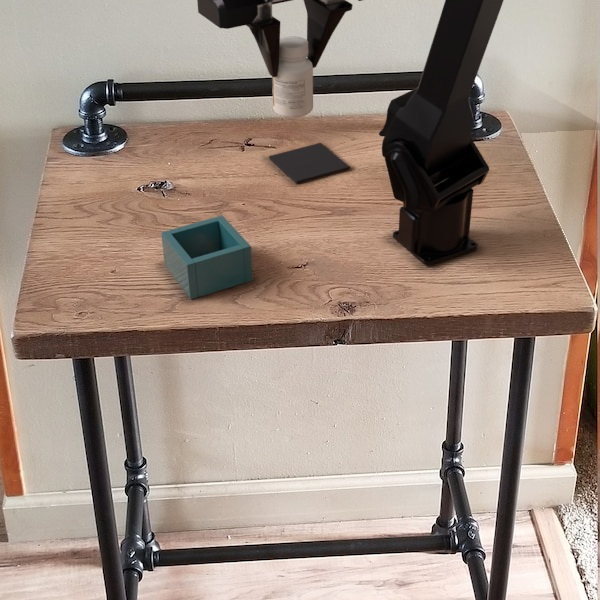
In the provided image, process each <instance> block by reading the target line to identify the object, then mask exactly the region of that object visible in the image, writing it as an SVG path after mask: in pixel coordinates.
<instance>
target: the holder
mask: <svg viewBox="0 0 600 600" xmlns="http://www.w3.org/2000/svg"><path fill="white" fill-rule="evenodd" d="M160 236H161V243H162V253H163V261H164V267H165V268H166V269H167V271H168V273H170V275H171V276H172V278H173V279H174V280H175V281H176V282H177V284H178V285H179V287H180V288H181V290H182V291H183V292H184V293H185V295H187V297H188V298H189V299H190V300H194V299H197V298H200V297H204V296H207V295H210V294H213V293H217V292H220V291H224V290H226V289H229V288H233V287H236V286H239V285H242V284H245V283H250V282H252V281H253V280H254V278H253V277H254V276H253V260H252V258H253V257H252V246H251V244H250V243H249V242H248V241H247V240H246V239H245V238H244V237H243V236H242V235H241V233H240V232H238V230H237V229H236V228H235V227H234V226H233V225H232V223H231V222H229V221H228V219H226V217H225V216H224V215H218V216H214V217H211V218H208V219H203V220H200V221H196V222H192V223H189V224H186V225H182V226H179V227H175V228H171V229H168V230H165V231H162V232H160Z"/></svg>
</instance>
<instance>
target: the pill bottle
mask: <svg viewBox="0 0 600 600" xmlns="http://www.w3.org/2000/svg"><path fill="white" fill-rule="evenodd" d="M308 52H309V50H308V41H307V38H304V37H301V36H284V37H280V50H279V68H278V74H277V77H272V76H271V83H272V84H271V85H272V86H271V88H272V109H273V111H274V113H275V114H276V115H278V116H280V117H283V118H291V119H293V118H302V117H305V116H307V115H309V114H310V113H312V111H313V110H314V68H313V65H312V62H311V61H310V60H309V59H308V58H307V56H308Z"/></svg>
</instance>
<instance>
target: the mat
mask: <svg viewBox="0 0 600 600" xmlns="http://www.w3.org/2000/svg"><path fill="white" fill-rule="evenodd" d="M268 160H270V162H272V163H273V164H274V165H275V166H276V167H277V168H278V169H280V170H281V172H283V173H284V174H285V175H286V177H288V178H289V179H291V181H292V182H294V183H295V184H296V185H299V184H302V183H305V182H310V181H313V180H317V179H321V178H324V177H329V176H331V175H335V174H339V173H343V172H346V171H349V170H350V169H351V166H349V164H347V163H346V162H345V161H343V160H342V159H341V158H340V157H338V155H336V154H335V153H334V152H333V151H332V150H330V149H329V148H328V147H326V146H325V145H324V144H322V142H318V143H315V144H310V145H307V146H303V147H298V148H295V149H292V150H288V151H284V152H283V151H282V152H280V153H276V154H272V155H269V156H268Z"/></svg>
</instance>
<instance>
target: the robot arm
mask: <svg viewBox="0 0 600 600" xmlns="http://www.w3.org/2000/svg"><path fill="white" fill-rule="evenodd" d="M292 1H293V0H197V1H196V2H197V13H198V14H199V15H201V16H202V17H204V18H205V19H206V20H208V21H210V22H211V23H212V24H213V25H215V26H217V27H218V29H225V30H228V29H229V30H230V29H235V28H239V27H243V26H246V27H247V28H249V31H250V32H251V35H253V38H254V39H255V43H256V44H257V47H258V49H259V52H260V54H261V56H262V60H263V62H264V64H265V67H266V69H267V71H268V74H269V76H271V78H272V77H277V74H278V68H279V50H280V38H281V20H280V19H278V18H276V17H275V16H273V5H276V4H282V3H286V2H287V3H288V2H292ZM357 1H358V2H361V1H363V0H357ZM303 3H304V7H305V11H306V40H307V41H308V50H309V52H308V56H307V57H306V58H308V59H309V60H310V61H311V62H312V65H313V69H315V68H317V66H318V64H319V62H320V59H321V57H322V56H323V53H324V52H325V49H326V48H327V45H328V43H329V42H330V40H331V38H332V36H333V34H334V32H335V31H336V29H337V27H338V25H339V24H340V22H341V20H342V19H343V17H344V16H345V14H346V13H347V12H350V11H352V10H353V7H354V6H353V3H351V2H349V1H348V0H303ZM503 3H504V0H444V4H443V7H442V9H441V13H440V16H439V19H438V22H437V25H436V28H435V32H434V36H433V38H432V41H431V45H430V47H429V51H428V54H427V57H426V60H425V64H424V67H423V69H422V74H421V77H420V80H419V83H418V86H417V87H416V88H414V89H412V90H409V91H407V92H405V93H403V94H401V95H399V96H397V97H395V98H393V99H391V100H390V102H389V105H388V106H387V110H386V118H385V122H384V125H383V127H382V129H381V130H380V131H379V133H378V135H379V137H383V139H382V141H381V142H382V143H381V155H382V157H383V158H384V161H385V166H386V169H387V174H388V178H389V183H390V187H391V190H392V191H391V192H392V195H393V198H394V199H395V200H397V201H399V202H401V203H402V204H403V205H402V206H400V208H399V217H398V230H395V231H393V232H392V238H393V239H394V240H395V241H396V242H397V243H398V244H399V245H401V247H403V248H405V250H407V251H408V252H409V253H410V254H411V255H412V256H413V257H414V258H415V259H417V260H418V261H419V262H420V263H422V264H423V265H424V266H432V265H435V264H438V263H441V262H445V261H447V260H450V259H453V258H456V257H459V256H462V255H466V254H468V253H472V252H475V251H477V250H478V248H479V244H478V243H477V242H476V241H475V240H473V238H471V237H470V231H471V230H470V229H471V219H472V209H473V199H474V187H476V186H480V185H481V184H483V183H484V181H485V180H486V177H487V176H488V174H489V172H490V166H489V165H488V163H487V161H486V160H485V157H483V155H482V153H481V152H480V149H479V148H478V146H477V145H476V144H475V141H474V140H473V138H472V137H471V136H472V132H473V127H474V113H473V110H472V107H471V103H470V95H471V93H472V89H473V87H474V84H475V81H476V78H477V76H478V72H479V70H480V67H481V64H482V61H483V58H484V56H485V53H486V51H487V47H488V44H489V42H490V39H491V37H492V34H493V31H494V28H495V25H496V22H497V20H498V17H499V14H500V12H501V9H502V6H503Z"/></svg>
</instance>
